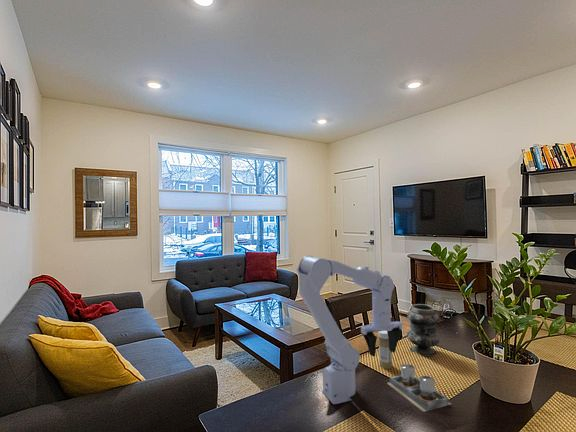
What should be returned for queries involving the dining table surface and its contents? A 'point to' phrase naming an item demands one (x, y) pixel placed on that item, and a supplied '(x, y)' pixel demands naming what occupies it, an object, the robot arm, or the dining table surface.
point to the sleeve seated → (407, 375)
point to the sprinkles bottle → (384, 350)
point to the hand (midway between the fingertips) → (382, 353)
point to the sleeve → (427, 389)
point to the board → (414, 392)
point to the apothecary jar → (423, 329)
